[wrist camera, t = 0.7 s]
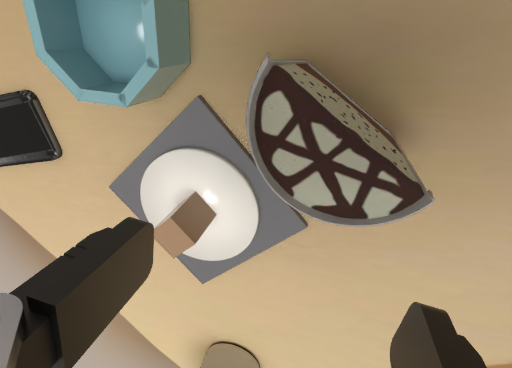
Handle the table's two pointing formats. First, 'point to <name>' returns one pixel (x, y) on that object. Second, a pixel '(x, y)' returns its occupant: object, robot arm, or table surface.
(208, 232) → the lid
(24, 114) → the phone
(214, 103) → the table surface
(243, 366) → the travel mug
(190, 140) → the mat
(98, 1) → the bowl
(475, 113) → the table surface
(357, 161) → the food container
